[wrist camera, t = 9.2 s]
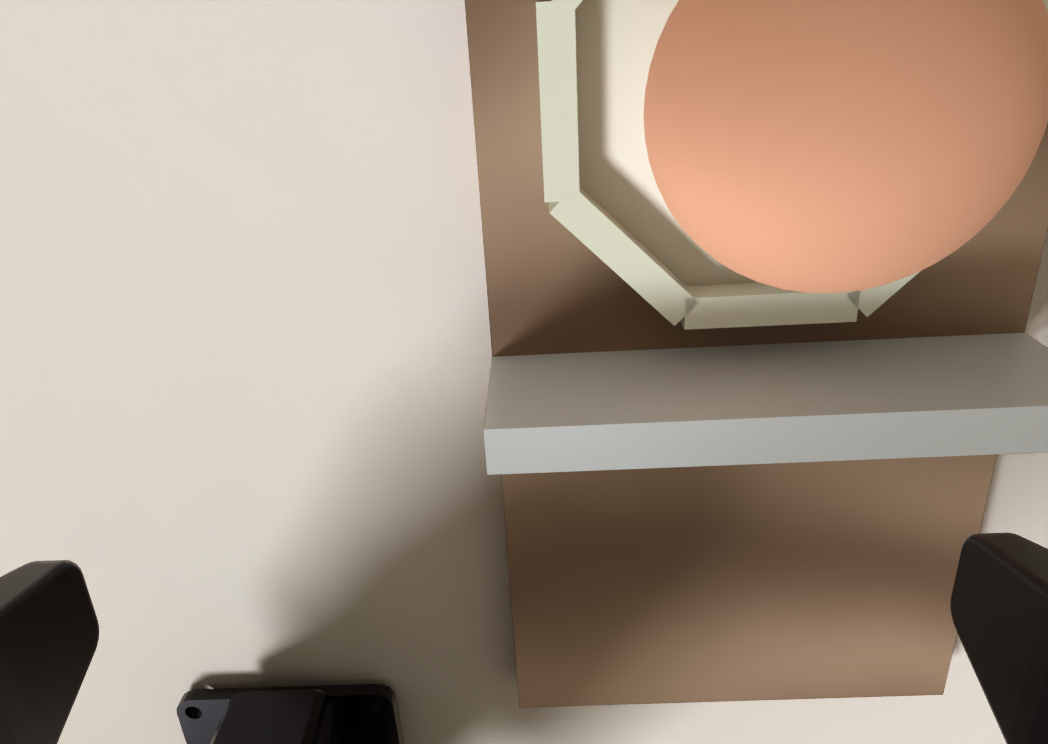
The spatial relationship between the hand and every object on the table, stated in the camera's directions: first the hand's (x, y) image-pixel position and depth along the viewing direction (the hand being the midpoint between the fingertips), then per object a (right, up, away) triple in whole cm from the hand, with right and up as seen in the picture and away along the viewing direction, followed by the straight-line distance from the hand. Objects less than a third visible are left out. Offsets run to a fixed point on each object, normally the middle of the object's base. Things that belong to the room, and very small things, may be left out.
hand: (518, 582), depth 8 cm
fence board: (+5, +3, +11) cm, 12 cm away
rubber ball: (+5, +6, +5) cm, 9 cm away
